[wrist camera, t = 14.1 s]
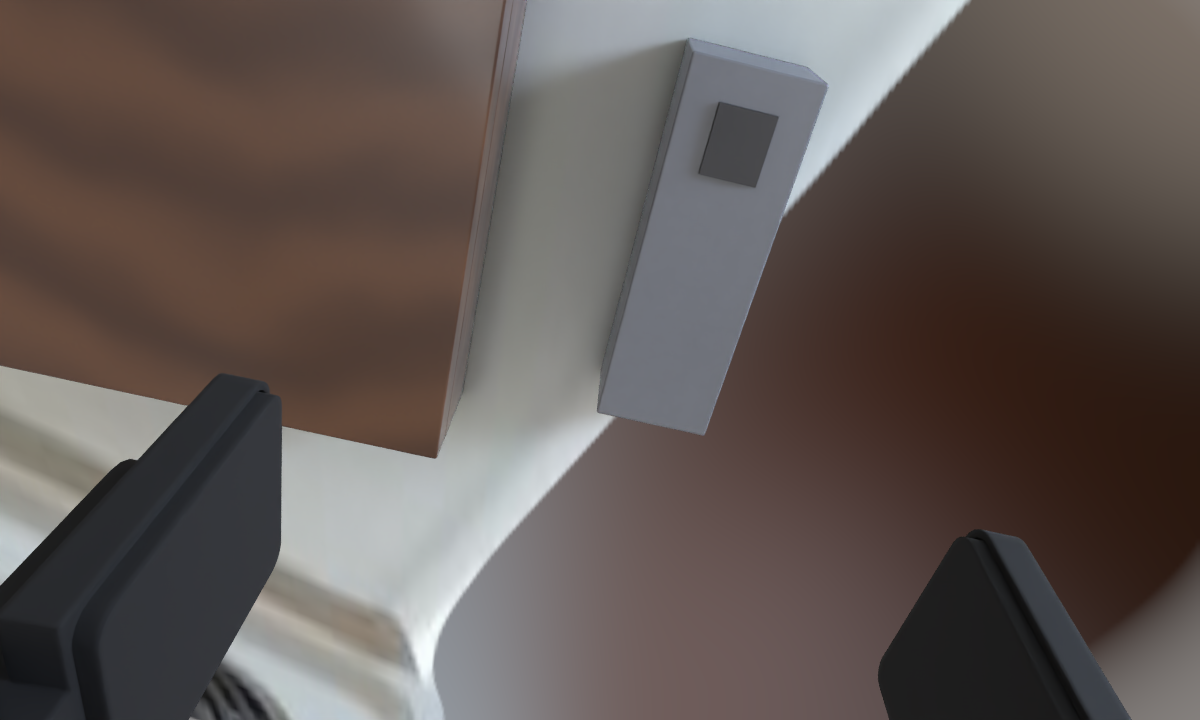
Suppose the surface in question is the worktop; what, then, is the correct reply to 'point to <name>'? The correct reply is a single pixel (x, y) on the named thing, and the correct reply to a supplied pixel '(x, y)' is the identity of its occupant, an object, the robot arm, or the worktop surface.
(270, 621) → the worktop surface
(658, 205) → the grey long block
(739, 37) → the worktop surface
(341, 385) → the shelf
